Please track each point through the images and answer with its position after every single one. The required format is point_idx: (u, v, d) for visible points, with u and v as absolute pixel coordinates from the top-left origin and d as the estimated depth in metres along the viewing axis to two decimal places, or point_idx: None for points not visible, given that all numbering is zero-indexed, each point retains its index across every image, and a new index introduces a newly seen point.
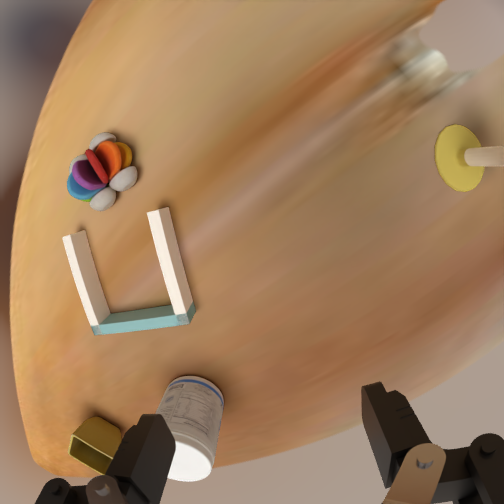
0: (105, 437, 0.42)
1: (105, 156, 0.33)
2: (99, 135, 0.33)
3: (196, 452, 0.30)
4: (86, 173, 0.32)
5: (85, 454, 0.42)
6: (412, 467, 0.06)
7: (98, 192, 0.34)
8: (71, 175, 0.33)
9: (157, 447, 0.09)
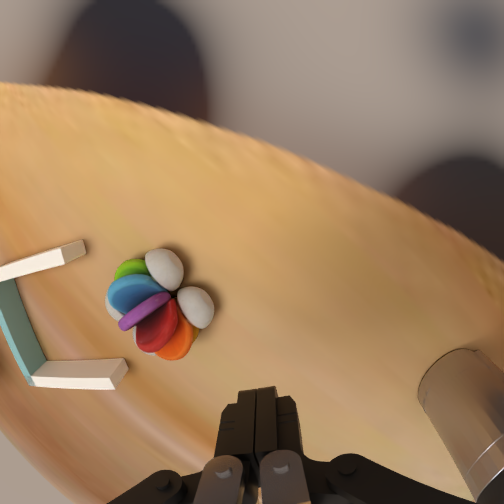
0: None
1: None
2: (205, 316, 0.25)
3: None
4: (140, 320, 0.23)
5: None
6: (272, 474, 0.07)
7: (124, 313, 0.25)
8: (139, 284, 0.23)
9: None
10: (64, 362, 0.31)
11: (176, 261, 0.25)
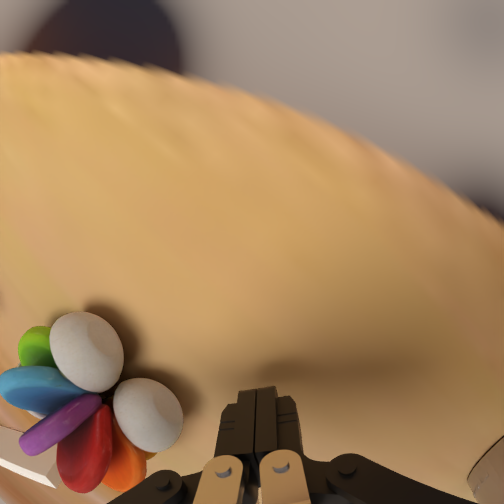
0: None
1: None
2: (164, 439, 0.12)
3: None
4: None
5: None
6: (271, 474, 0.07)
7: (39, 411, 0.12)
8: (36, 386, 0.09)
9: None
10: (4, 429, 0.17)
11: (105, 341, 0.12)
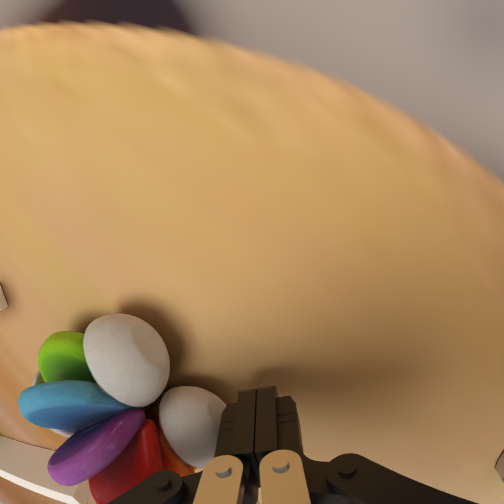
0: None
1: None
2: None
3: None
4: None
5: None
6: (271, 474, 0.07)
7: None
8: (71, 405, 0.08)
9: None
10: (18, 444, 0.16)
11: (152, 347, 0.11)
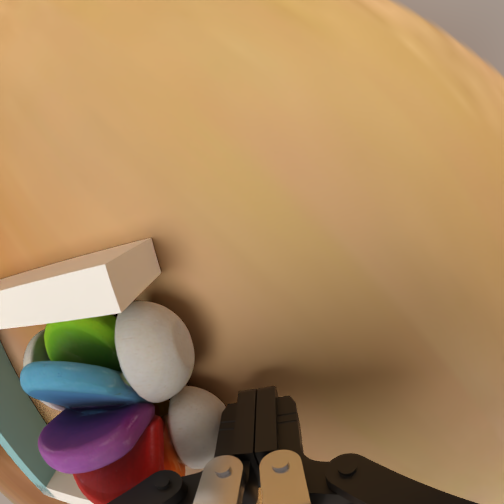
0: None
1: None
2: None
3: None
4: None
5: None
6: (271, 474, 0.07)
7: None
8: (89, 393, 0.08)
9: None
10: None
11: (185, 348, 0.11)
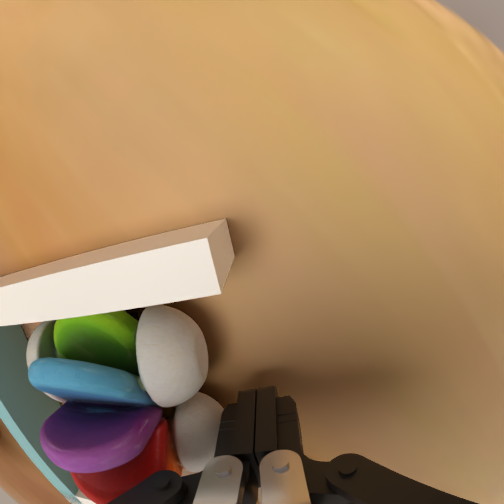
0: None
1: None
2: None
3: None
4: None
5: None
6: (271, 474, 0.07)
7: None
8: (106, 395, 0.08)
9: None
10: None
11: (203, 357, 0.11)
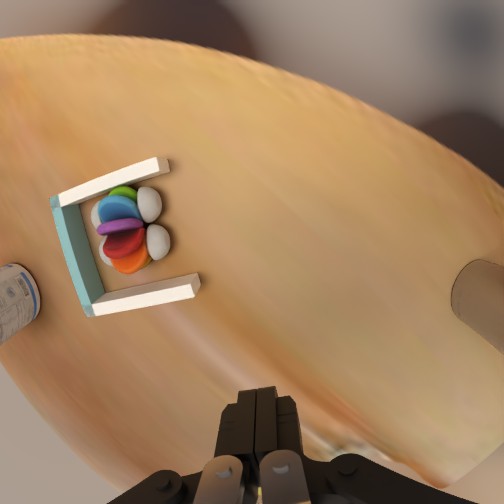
0: None
1: (128, 254, 0.31)
2: (160, 251, 0.32)
3: None
4: (114, 232, 0.29)
5: None
6: (272, 474, 0.07)
7: (103, 223, 0.31)
8: (126, 205, 0.29)
9: None
10: (128, 288, 0.36)
11: (159, 202, 0.32)
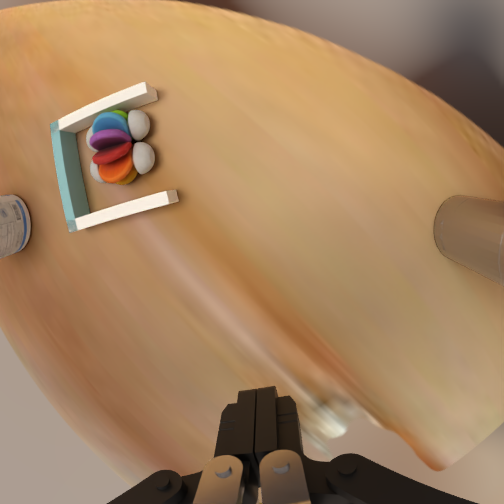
0: None
1: (115, 165, 0.32)
2: (144, 162, 0.33)
3: None
4: (104, 142, 0.30)
5: None
6: (271, 474, 0.07)
7: None
8: (117, 120, 0.30)
9: None
10: None
11: (147, 122, 0.33)
